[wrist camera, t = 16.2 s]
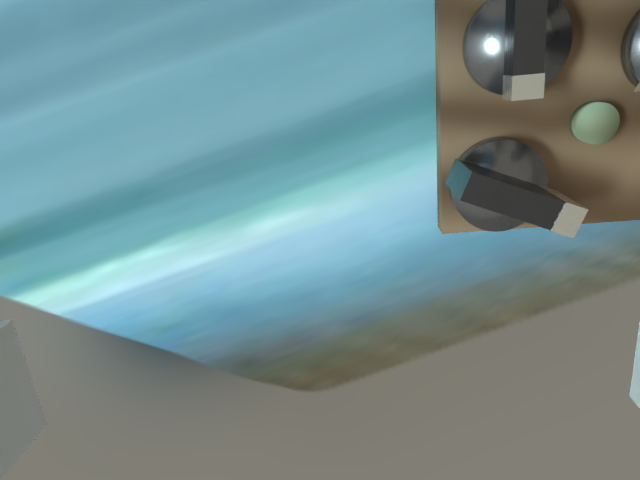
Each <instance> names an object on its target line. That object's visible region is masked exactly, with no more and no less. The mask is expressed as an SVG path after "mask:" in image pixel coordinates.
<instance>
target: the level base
mask: <svg viewBox="0 0 640 480" xmlns="http://www.w3.org/2000/svg"><path fill="white" fill-rule="evenodd" d="M486 1H487V0H435V47H436V121H437V194H438V227H439V229H440V231H441V232H442V234H445V233H459V232H473V231H486V230H482V229H479V228H477V227H475V226H473V225H471V224H470V223H468V222H467V221H466V220H465V219H464V218H463V217H462V216H461V214H460V213H459V212H458V210H457V209H456V208H455V206H454V204H453V202H452V200H451V197H450V192H449V187H448V186H447V185H446V184H445V183H446V180H447V178H448V175H449V173H450V170H451V168H452V166H453V163H454V161H455V158H457V159H458V158H459V157H460V156H461V155H462V154H463V153H464V152H465V151H466V150H467V149H468V148H469V147H471V146H472V145H474V144H476V143H477V142H480V141H482V140H485V139H489V138H495V137H505V138H511V139H514V140H517V141H519V142H521V143H524V144H526V145H528V146H529V147H531V148H532V149H534V150H535V151H536V152H537V153H538V154H539V155H540V157H541V158H542V160H543V161H544V163H545V165H546V168H547V172H548V188H550V189H553V190H556V191H558V192H560V193H562V194H563V195H565V196H567V197H568V198H570V199H572V200H573V201H575V202H577V203H578V204H580V205H582V206H583V207H585V208H587V209H588V212H587V214H586V216H585V218H584V220H583V221H582V223H581V224H585V223H599V222H613V221H627V220H640V95H638V94H637V93H635V92H633V91H634V89H635V88H636V87H635V86H634V85H633V84H632V83H631V82H630V81H629V80H628V78H627V77H626V75H625V73H624V71H623V68H622V64H621V55H620V51H621V43H622V39H623V36H624V33H625V30H626V28H627V26H628V24H629V22H630V21H631V19H632V18H633V16H634V15H635V14H636V12H637V11H638V10H639V9H640V0H560V1H561V2H562V3H563V4H564V6H565V7H566V9H567V11H568V13H569V16H570V19H571V23H572V30H573V36H572V45H571V49H570V53H569V55H568V58H567V60H566V62H565V64H564V66H563V67H562V69H561V70H560V72H559V73H558V74H557V75H556V76H555V78H554V79H553V80H551V81H550V82H549V83H548V84H547V85H545V86H544V98H541V99H529V100H518V101H509V100H504V99H502V95H499V94H495V93H491V92H489V91H487V90H485V89H483V88H482V87H480V86H479V85H478V84H477V83H476V82H475V81H474V80H473V79H472V78H471V76H470V75H469V73H468V71H467V69H466V66H465V63H464V59H463V50H462V47H463V38H464V34H465V31H466V28H467V25H468V23H469V21H470V19H471V18H472V16H473V15H474V13H475V12H476V11H477V9H478V8H479V7H480V6H481V5H482V4H483V3H485V2H486ZM529 227H539V226H536V225H533V224H530V223H527V222H525V223H523V224H521V225H519V226H518V227H515V228H529ZM515 228H513V229H515Z"/></svg>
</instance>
